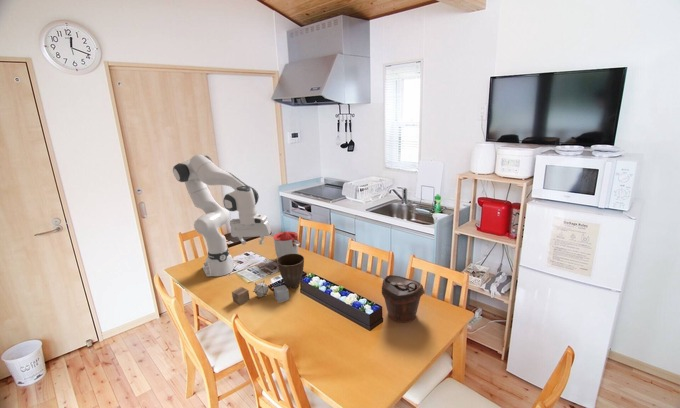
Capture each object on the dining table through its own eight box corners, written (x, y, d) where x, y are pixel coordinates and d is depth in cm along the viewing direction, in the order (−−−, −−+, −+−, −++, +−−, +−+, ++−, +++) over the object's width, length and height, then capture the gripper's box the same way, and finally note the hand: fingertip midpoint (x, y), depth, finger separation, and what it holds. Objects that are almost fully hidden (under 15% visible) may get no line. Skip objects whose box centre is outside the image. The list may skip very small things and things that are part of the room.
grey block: (274, 297, 176) (273, 287, 175) (285, 294, 179) (284, 284, 177) (278, 303, 171) (277, 292, 170) (289, 299, 174) (288, 289, 172)
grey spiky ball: (259, 303, 179) (246, 290, 176) (268, 290, 184) (255, 278, 182) (267, 300, 172) (253, 288, 170) (276, 288, 178) (263, 275, 176)
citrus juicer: (293, 267, 209) (290, 237, 203) (271, 262, 216) (267, 234, 211) (306, 256, 222) (304, 228, 217) (284, 253, 230) (282, 226, 224)
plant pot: (311, 282, 189) (309, 257, 185) (293, 295, 178) (290, 268, 173) (292, 276, 198) (290, 251, 193) (274, 287, 186) (271, 261, 182)
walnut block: (233, 302, 174) (231, 291, 173) (242, 296, 179) (241, 286, 177) (240, 305, 171) (238, 295, 169) (249, 300, 175) (248, 290, 174)
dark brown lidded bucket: (430, 322, 150) (431, 287, 145) (388, 329, 147) (387, 293, 142) (415, 301, 167) (415, 269, 162) (377, 307, 164) (376, 274, 159)
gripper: (226, 221, 165) (230, 247, 169) (265, 219, 162) (269, 246, 166) (231, 217, 171) (236, 242, 175) (269, 215, 168) (273, 241, 172)
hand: (252, 244), depth 170 cm, fingers open, 8 cm apart
